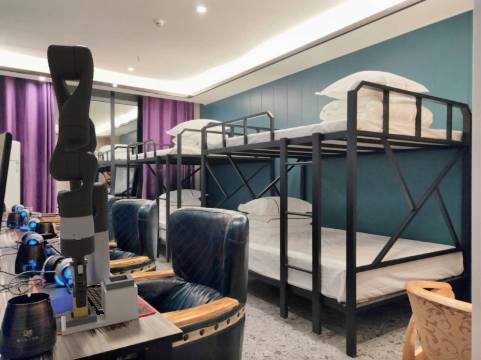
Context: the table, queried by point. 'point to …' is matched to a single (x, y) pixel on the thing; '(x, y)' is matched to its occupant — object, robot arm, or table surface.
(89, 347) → the table surface
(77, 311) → the plug
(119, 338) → the table surface
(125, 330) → the table surface
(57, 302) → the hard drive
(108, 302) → the console
